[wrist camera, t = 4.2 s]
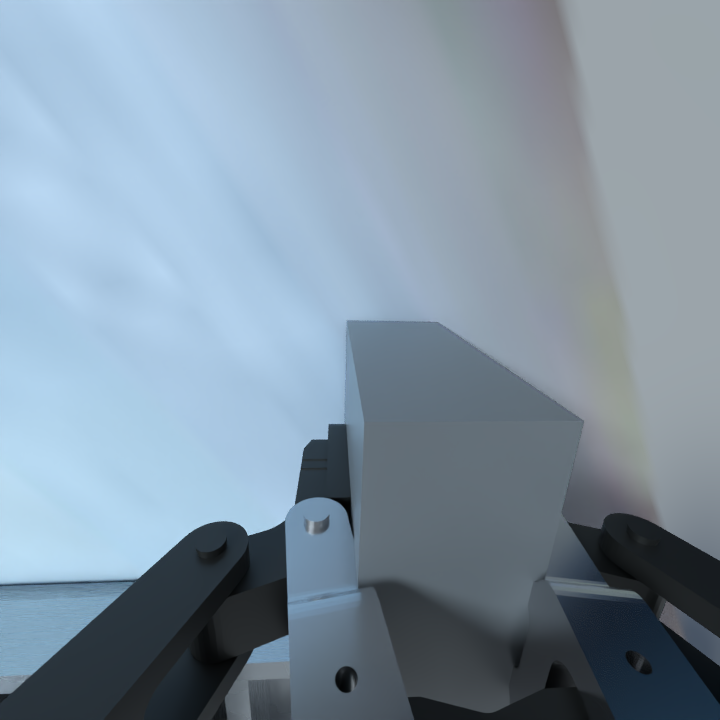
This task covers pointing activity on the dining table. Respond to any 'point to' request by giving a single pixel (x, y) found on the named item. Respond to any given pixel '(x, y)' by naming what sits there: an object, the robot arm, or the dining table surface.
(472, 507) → the grey block
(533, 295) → the dining table surface
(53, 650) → the rack
